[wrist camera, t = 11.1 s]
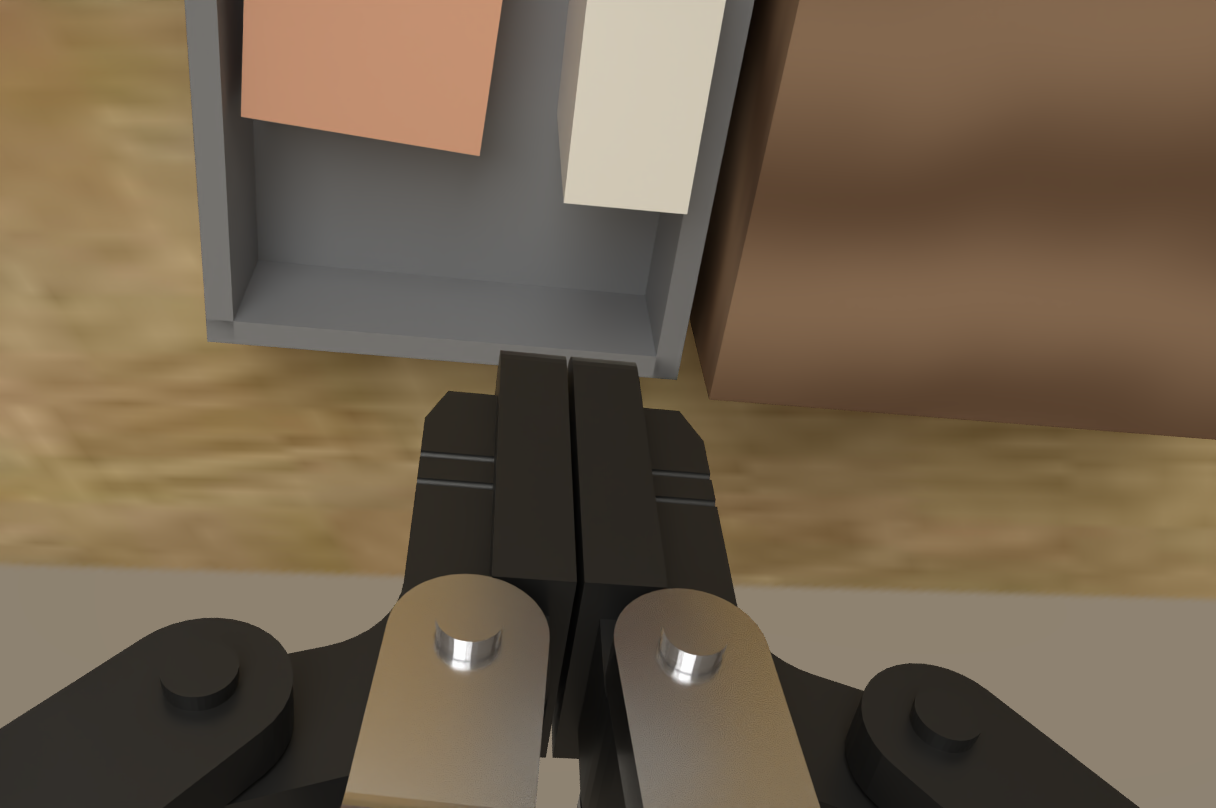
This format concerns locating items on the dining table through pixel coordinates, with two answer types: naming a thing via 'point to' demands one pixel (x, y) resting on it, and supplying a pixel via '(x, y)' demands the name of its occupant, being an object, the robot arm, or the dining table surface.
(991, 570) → the dining table surface
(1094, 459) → the dining table surface
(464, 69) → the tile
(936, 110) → the wooden grain block
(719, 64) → the box
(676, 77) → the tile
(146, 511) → the dining table surface
